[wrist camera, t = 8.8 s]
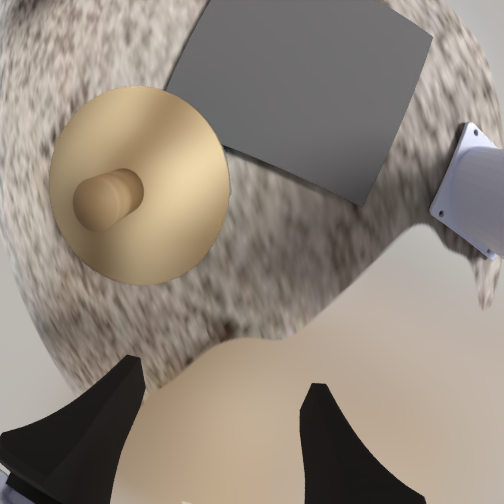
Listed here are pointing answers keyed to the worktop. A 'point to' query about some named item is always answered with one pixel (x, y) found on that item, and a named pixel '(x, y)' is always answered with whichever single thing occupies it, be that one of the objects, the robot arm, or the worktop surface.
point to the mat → (305, 84)
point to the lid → (139, 185)
